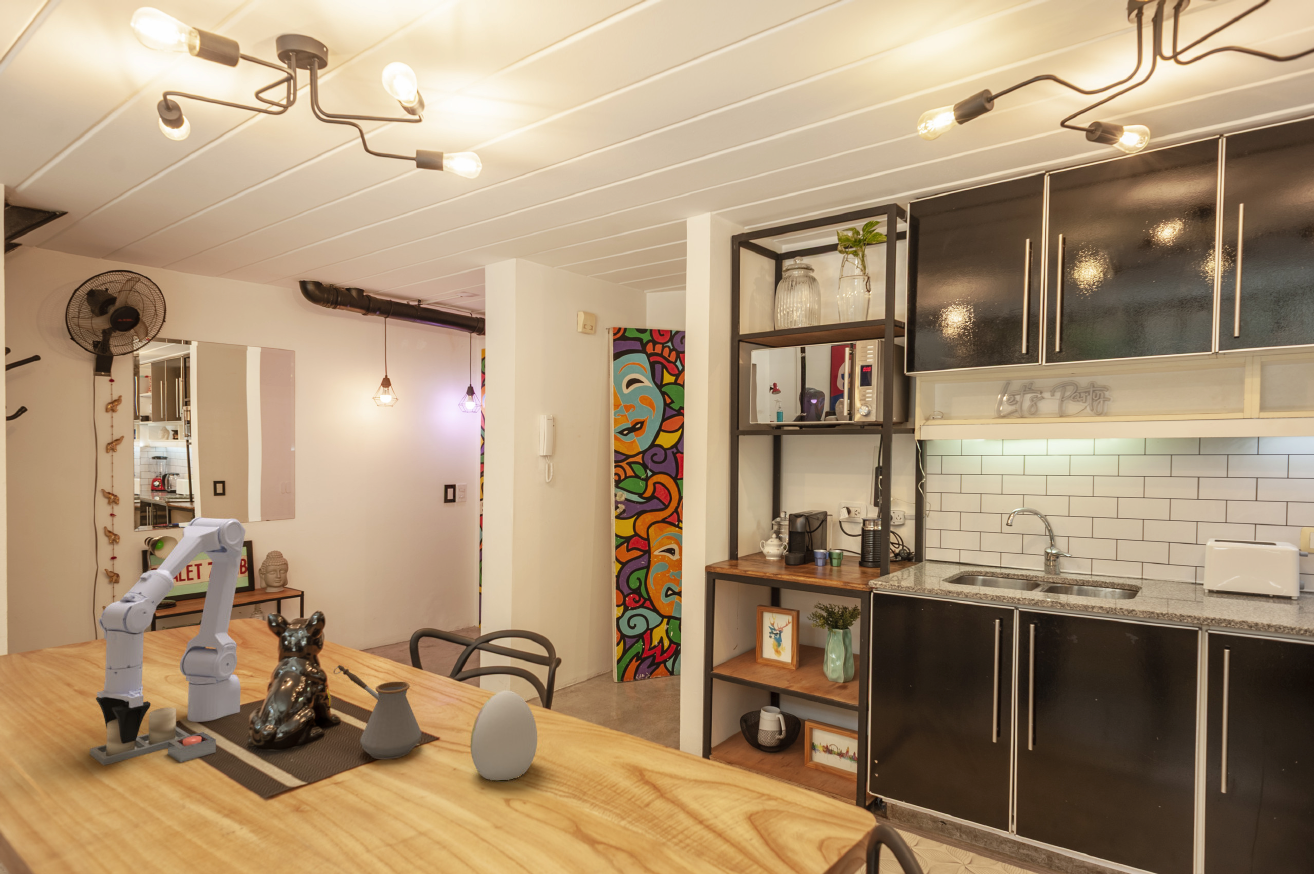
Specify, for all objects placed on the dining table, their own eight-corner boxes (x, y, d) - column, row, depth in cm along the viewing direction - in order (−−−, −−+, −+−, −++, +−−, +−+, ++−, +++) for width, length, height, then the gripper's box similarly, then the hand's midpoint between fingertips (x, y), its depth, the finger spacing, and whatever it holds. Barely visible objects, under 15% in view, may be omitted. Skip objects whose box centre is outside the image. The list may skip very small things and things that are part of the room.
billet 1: (130, 746, 140) (131, 715, 141) (138, 752, 138) (139, 720, 138) (102, 753, 137) (103, 721, 137) (110, 760, 134) (111, 727, 134)
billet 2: (172, 735, 146) (173, 705, 146) (177, 742, 143) (178, 711, 143) (146, 741, 143) (146, 711, 143) (151, 748, 140) (152, 717, 140)
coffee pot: (433, 746, 146) (435, 672, 146) (390, 768, 136) (392, 688, 136) (357, 727, 155) (359, 657, 156) (311, 746, 145) (313, 671, 145)
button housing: (202, 749, 142) (202, 731, 142) (215, 757, 139) (215, 739, 139) (167, 759, 138) (168, 741, 138) (180, 768, 134) (180, 749, 134)
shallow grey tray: (175, 737, 148) (176, 726, 148) (191, 746, 144) (191, 735, 144) (89, 760, 137) (90, 748, 137) (103, 771, 132) (103, 759, 132)
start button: (197, 747, 140) (197, 734, 140) (203, 751, 138) (204, 738, 138) (179, 752, 138) (180, 739, 138) (186, 756, 136) (186, 743, 136)
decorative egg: (513, 752, 144) (514, 677, 144) (549, 772, 135) (551, 692, 136) (457, 770, 135) (459, 690, 136) (492, 793, 127) (494, 707, 127)
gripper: (86, 662, 139) (83, 733, 139) (112, 677, 130) (109, 753, 130) (129, 654, 145) (127, 722, 144) (157, 668, 136) (154, 741, 136)
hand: (121, 736), depth 138 cm, fingers open, 7 cm apart
